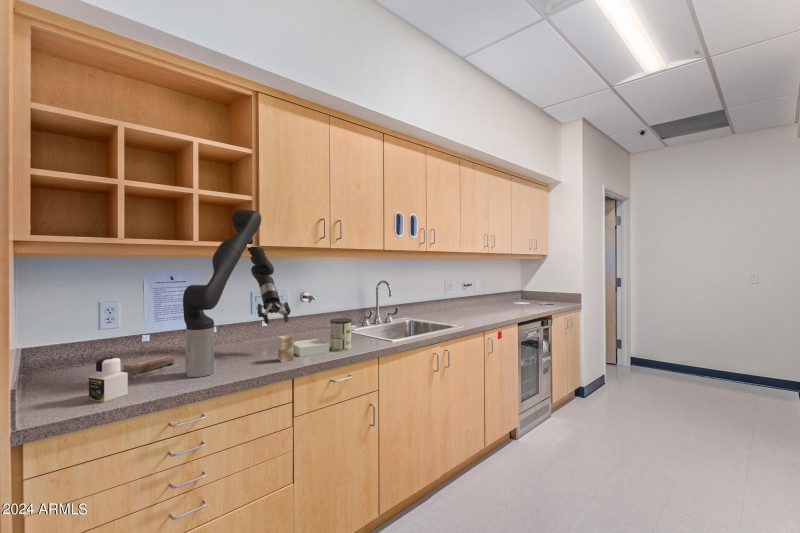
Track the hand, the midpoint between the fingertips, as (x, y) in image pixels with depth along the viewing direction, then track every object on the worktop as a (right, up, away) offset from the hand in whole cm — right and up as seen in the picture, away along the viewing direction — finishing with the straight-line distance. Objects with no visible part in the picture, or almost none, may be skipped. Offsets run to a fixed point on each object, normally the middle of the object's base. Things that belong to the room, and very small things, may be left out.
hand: (277, 322), depth 173 cm
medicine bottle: (-35, -15, -55) cm, 66 cm away
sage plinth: (+13, -15, +6) cm, 20 cm away
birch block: (+7, -15, -9) cm, 19 cm away
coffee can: (+27, -15, +12) cm, 33 cm away
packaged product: (-40, -16, -26) cm, 50 cm away
